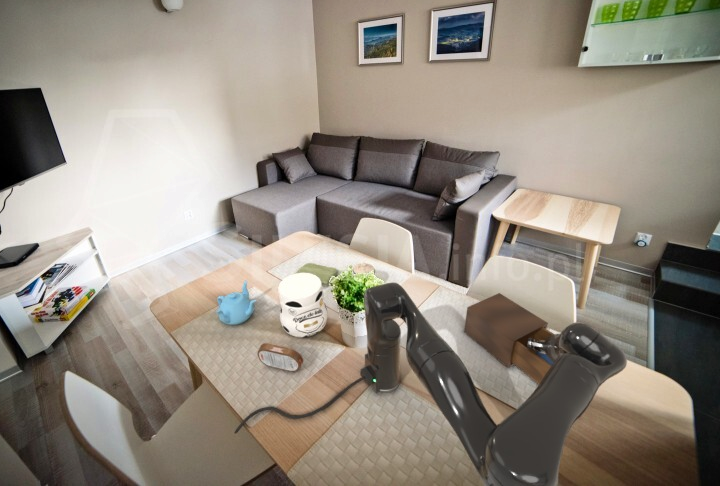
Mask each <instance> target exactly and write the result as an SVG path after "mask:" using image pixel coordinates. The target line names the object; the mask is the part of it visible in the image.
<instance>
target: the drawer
mask: <svg viewBox="0 0 720 486" xmlns="http://www.w3.org/2000/svg"><path fill="white" fill-rule="evenodd" d="M554 334H555V333H553V332H552V331H550V330H549V329H548V328H547V329H545V328H544V327H543V328H541V329H539V330H538V331H536V332H534V333H532V334H530V335H528V336H526V337H525V338H523V339H521V340H519V341H517V342H516V343H515V347H514V352H513V356H512V360H511V363H513V364H514V365H513V366H515V367H516V368H517V369H519V370H520V371H521V372H523V374H525V375H526V376H528V377H529V378H530V380H532V381H534V382H535V383H537V384H538V385H539V383H540V382H541V380H542V379H543V377H544V376H545V374H546V373H547V371H548V370H549V369H550V367H551V366H552V365H551V364H549V363H548V362H546V361H545V360H544V359H542V358H541V357H539V356H538V355H537V354H536V352H537V351H534V349H531V350H530V349H528V348H527V341H528V338H532V339H533V340H535V341H538V342H539V341H540V340H546V339H547V338H548V337H549V336H551V335H554Z"/></svg>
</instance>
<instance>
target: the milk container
mask: <svg viewBox="0 0 720 486" xmlns="http://www.w3.org/2000/svg"><path fill="white" fill-rule="evenodd" d="M295 273H296V272H295ZM277 289H278V297H279V298H278V299H279V303H280V311H279V320H280V324H281V326H282V329H283V330H284V331H285V333H287V335H289V336H292V337H295V338H300V339H301V338H310V337H312V336H313V337H314V336H315V335H317V334H319V333H321V331H323V330H324V328H325V326H326V325H327V321H328V307H327V305H326V303H325V299H324V290H323V289H324V286H322V283H321V281H320V279H319V278H318V277H317V276H316V275H313V274H310V273H296V274H294V273H293V274H290V275H289V274H288V275H287V276H286V277H284V278H283V279H282V280H281V281H280V282H279V285H278V288H277Z"/></svg>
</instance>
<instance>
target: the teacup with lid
mask: <svg viewBox="0 0 720 486" xmlns="http://www.w3.org/2000/svg"><path fill="white" fill-rule="evenodd" d="M372 270H374V274H376V269H375V267H374V266H373V265H372V264H370V263H367V262H362V263H358V264H356V265H354V267H353V269H352V273H353V275H354V274H356V273H369V272H371V271H372Z"/></svg>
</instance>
